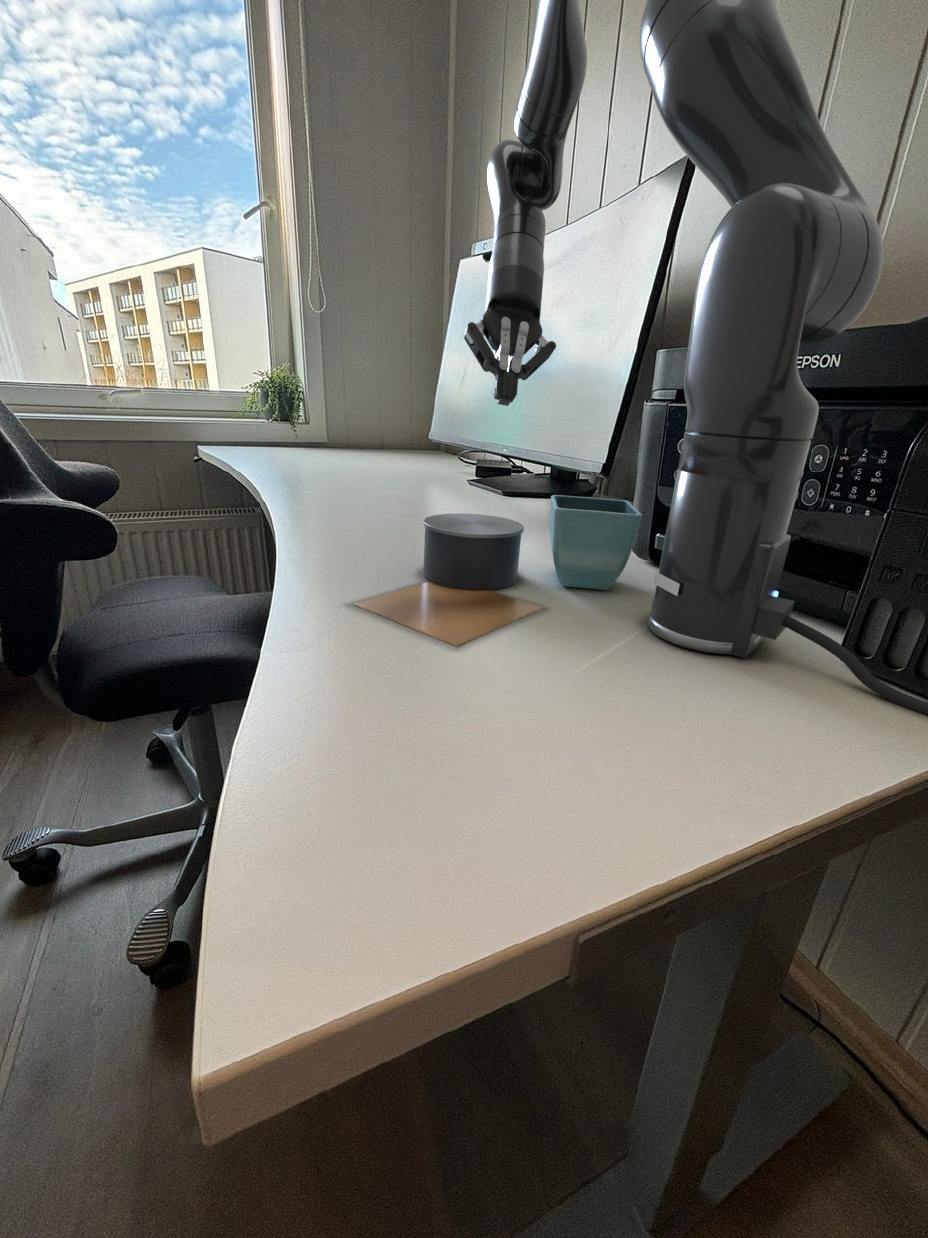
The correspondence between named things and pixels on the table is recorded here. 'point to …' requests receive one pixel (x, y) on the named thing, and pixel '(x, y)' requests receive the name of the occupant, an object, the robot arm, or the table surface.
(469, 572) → the round metal tin
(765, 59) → the robot arm
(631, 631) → the table surface
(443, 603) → the desk mat
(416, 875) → the table surface
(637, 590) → the table surface
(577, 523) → the flower pot
